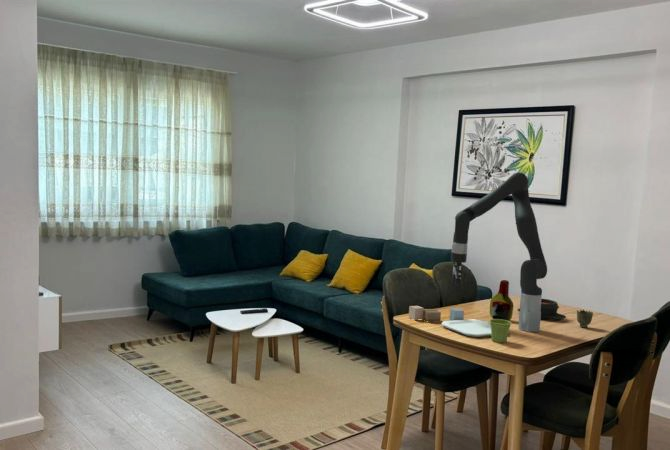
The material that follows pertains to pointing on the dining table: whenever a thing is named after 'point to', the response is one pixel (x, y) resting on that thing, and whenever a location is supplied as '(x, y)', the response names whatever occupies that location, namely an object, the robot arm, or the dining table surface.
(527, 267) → the robot arm
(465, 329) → the plate
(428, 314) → the walnut block
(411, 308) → the pale pinkish block
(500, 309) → the bottle
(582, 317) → the cup
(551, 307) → the casserole
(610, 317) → the dining table surface
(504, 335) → the plant pot
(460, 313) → the grey cube
